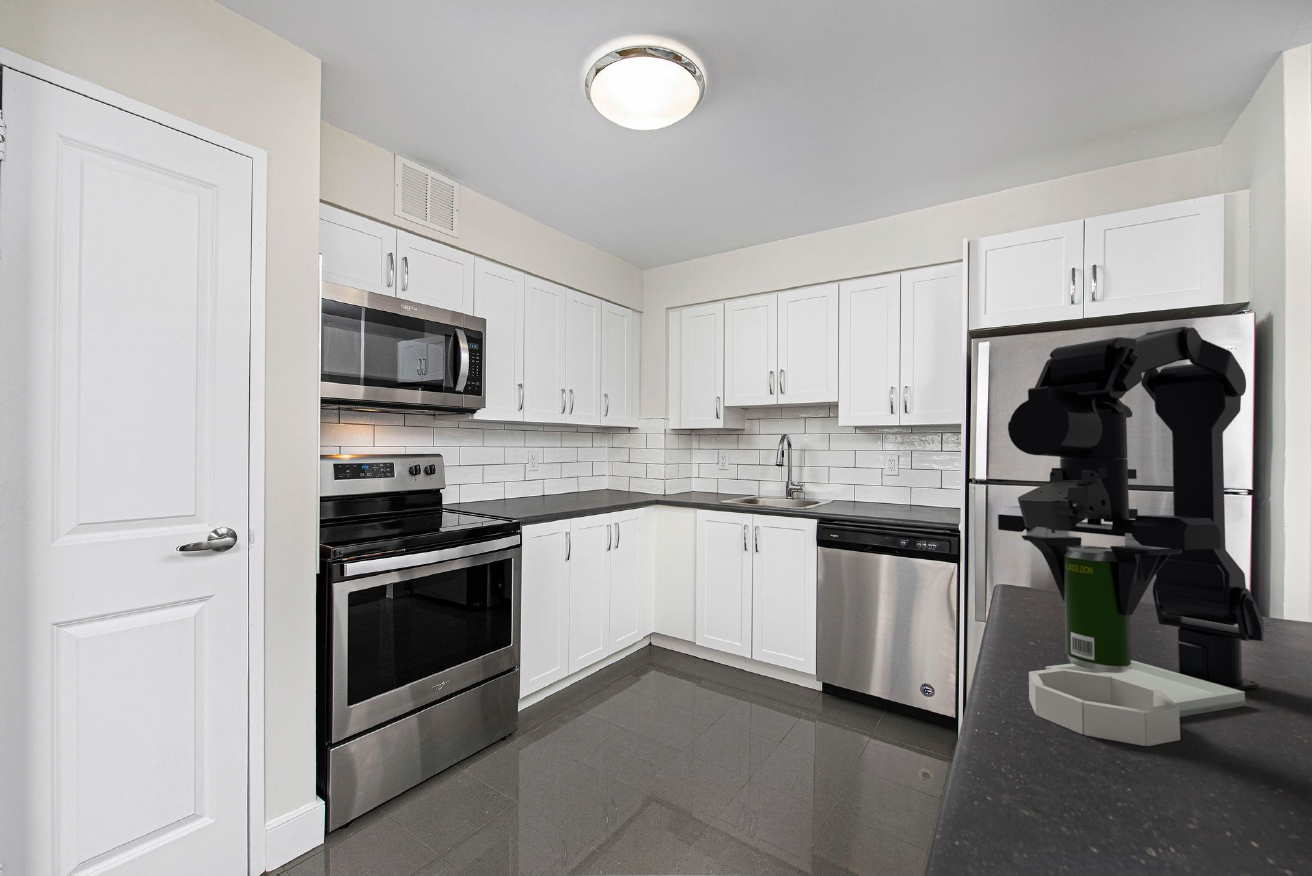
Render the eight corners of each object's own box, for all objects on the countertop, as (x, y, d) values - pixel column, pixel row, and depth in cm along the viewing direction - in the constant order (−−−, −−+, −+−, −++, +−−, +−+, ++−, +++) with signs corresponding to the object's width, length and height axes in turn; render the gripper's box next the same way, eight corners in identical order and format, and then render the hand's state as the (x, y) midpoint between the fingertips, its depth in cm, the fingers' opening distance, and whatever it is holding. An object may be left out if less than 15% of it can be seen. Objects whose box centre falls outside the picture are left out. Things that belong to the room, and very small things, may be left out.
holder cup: (1081, 692, 67) (1080, 665, 67) (1203, 735, 56) (1202, 703, 56) (1006, 702, 63) (1006, 674, 63) (1121, 751, 52) (1120, 716, 52)
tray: (1123, 669, 76) (1122, 657, 76) (1245, 705, 64) (1244, 691, 64) (1045, 679, 71) (1045, 666, 71) (1161, 720, 59) (1161, 705, 60)
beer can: (1118, 677, 56) (1115, 552, 57) (1056, 661, 61) (1054, 546, 61) (1139, 668, 59) (1136, 550, 60) (1078, 654, 64) (1076, 544, 64)
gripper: (961, 458, 67) (962, 594, 66) (1140, 454, 50) (1145, 638, 49) (1031, 461, 71) (1033, 590, 70) (1221, 458, 54) (1227, 630, 53)
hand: (1096, 608), depth 60 cm, fingers closed on beer can, 5 cm apart
